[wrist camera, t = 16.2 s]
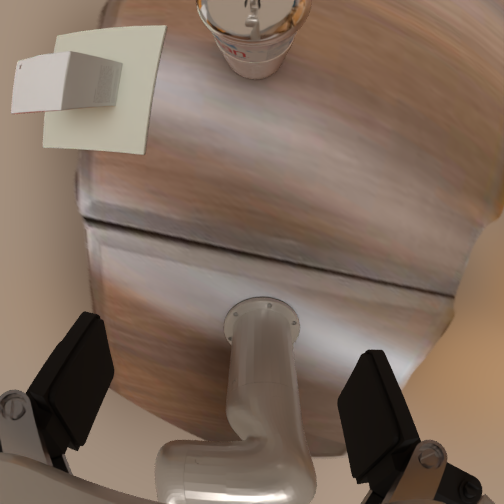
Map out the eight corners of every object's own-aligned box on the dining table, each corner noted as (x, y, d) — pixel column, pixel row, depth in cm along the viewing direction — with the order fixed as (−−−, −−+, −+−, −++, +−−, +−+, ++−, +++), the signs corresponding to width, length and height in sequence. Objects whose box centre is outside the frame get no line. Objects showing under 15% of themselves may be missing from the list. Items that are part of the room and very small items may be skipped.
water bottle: (288, 75, 32) (345, 14, 9) (233, 85, 32) (192, 37, 10) (276, 28, 29) (306, -84, 6) (222, 38, 29) (168, -63, 7)
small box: (70, 107, 32) (9, 114, 20) (76, 65, 29) (16, 59, 18) (117, 107, 33) (60, 111, 21) (124, 62, 30) (70, 48, 18)
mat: (145, 154, 36) (143, 154, 36) (44, 146, 35) (42, 147, 34) (167, 26, 28) (166, 25, 28) (59, 36, 27) (57, 35, 26)
